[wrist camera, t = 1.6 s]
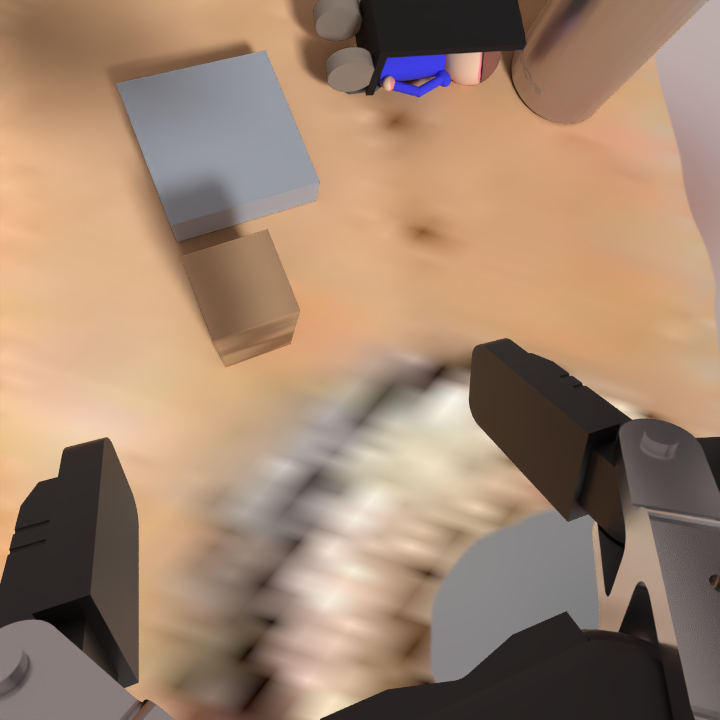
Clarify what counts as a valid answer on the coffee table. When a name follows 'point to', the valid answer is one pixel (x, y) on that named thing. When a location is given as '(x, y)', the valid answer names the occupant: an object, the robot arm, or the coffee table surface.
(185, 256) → the walnut block
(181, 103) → the blue-grey square slab
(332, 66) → the figurine character
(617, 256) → the coffee table surface
